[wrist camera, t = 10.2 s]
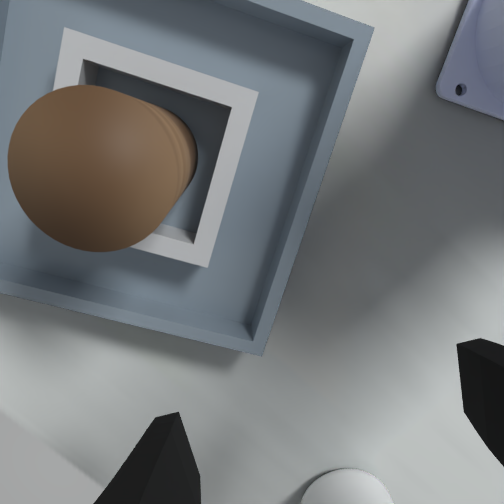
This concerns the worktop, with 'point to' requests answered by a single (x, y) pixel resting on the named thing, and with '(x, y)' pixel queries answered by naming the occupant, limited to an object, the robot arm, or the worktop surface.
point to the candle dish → (209, 152)
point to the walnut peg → (99, 166)
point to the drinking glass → (347, 489)
